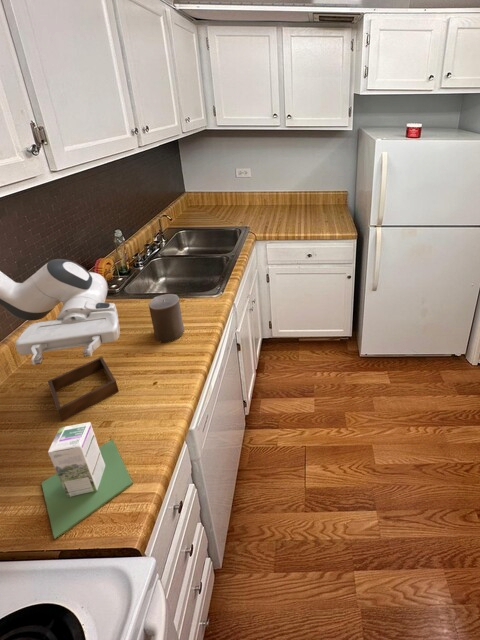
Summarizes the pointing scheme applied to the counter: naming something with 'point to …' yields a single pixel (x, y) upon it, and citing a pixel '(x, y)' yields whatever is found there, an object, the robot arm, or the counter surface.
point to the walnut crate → (88, 398)
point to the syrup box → (77, 459)
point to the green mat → (79, 507)
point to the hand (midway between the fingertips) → (62, 358)
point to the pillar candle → (166, 317)
